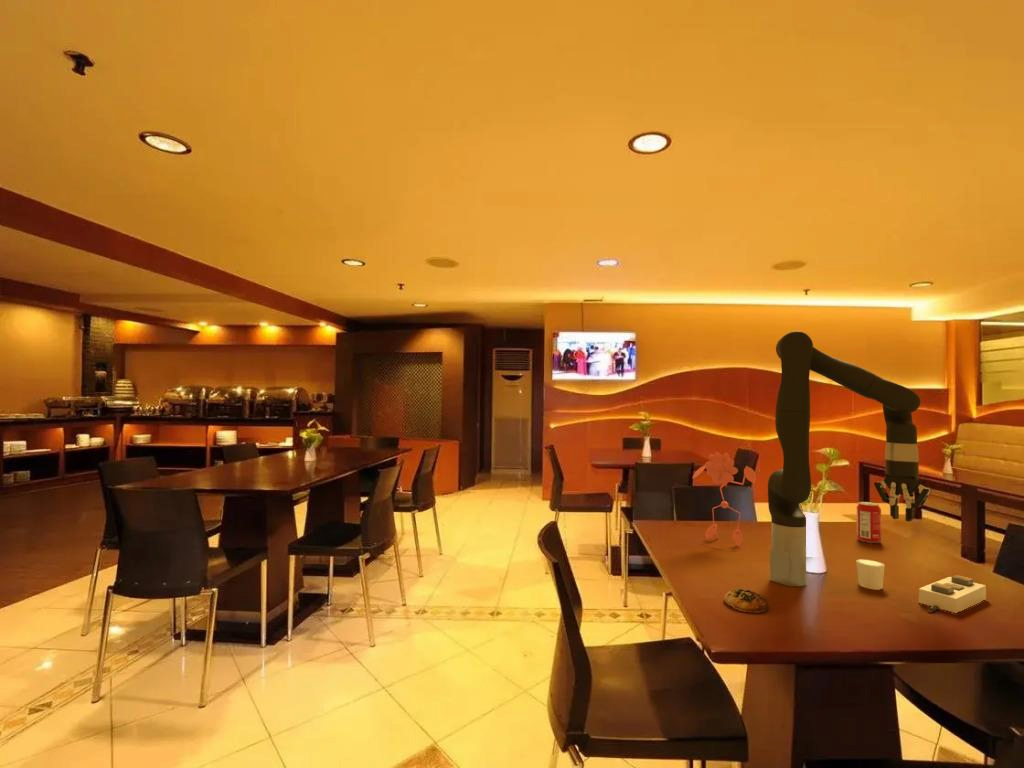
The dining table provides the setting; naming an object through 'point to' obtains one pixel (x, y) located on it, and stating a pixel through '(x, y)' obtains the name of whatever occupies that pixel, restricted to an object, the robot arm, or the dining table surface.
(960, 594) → the power strip
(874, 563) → the white soft cylinder
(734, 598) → the bread roll
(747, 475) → the pink stick figure
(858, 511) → the soda can
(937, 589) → the switch
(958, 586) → the switch middle
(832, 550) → the dining table surface
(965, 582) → the switch
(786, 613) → the dining table surface
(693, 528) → the dining table surface
